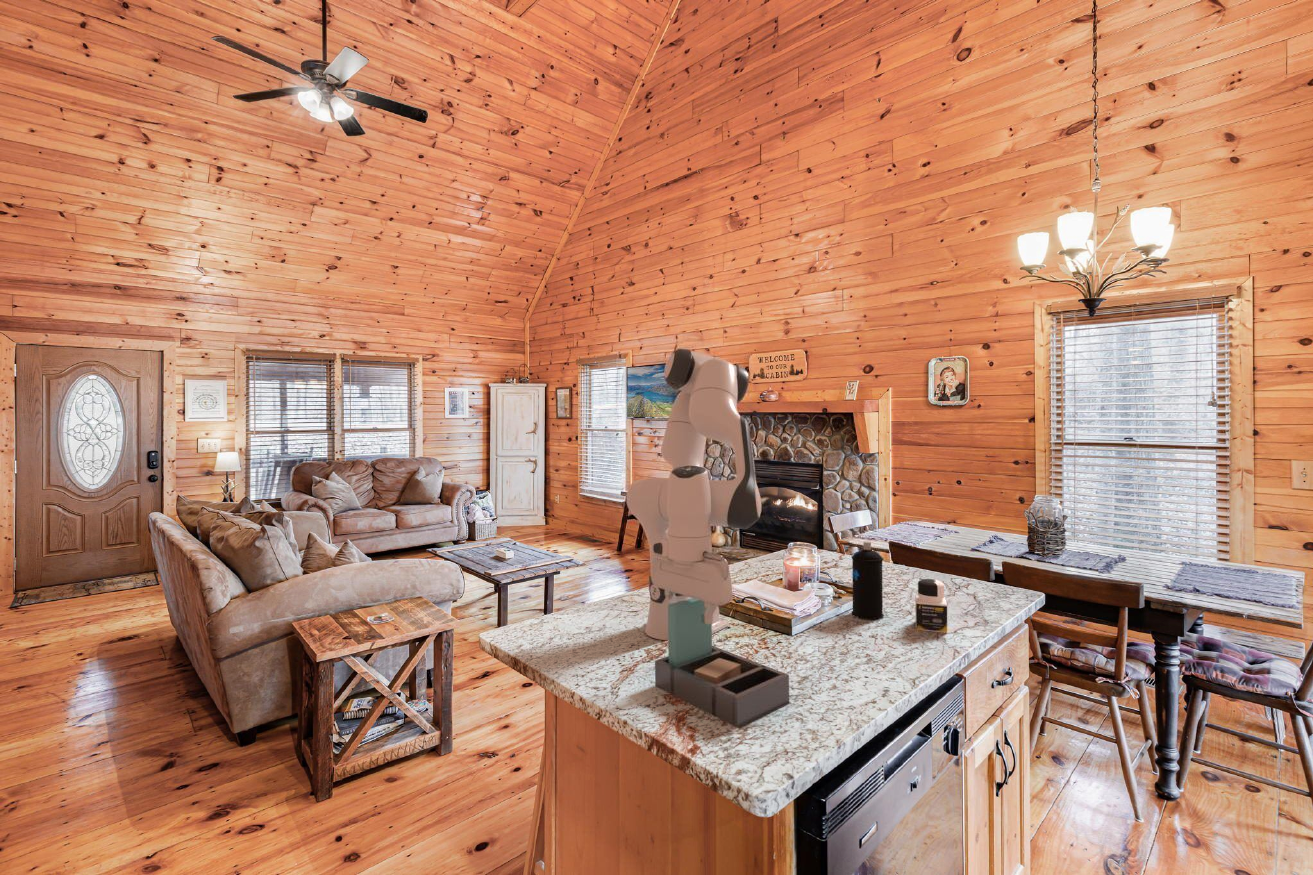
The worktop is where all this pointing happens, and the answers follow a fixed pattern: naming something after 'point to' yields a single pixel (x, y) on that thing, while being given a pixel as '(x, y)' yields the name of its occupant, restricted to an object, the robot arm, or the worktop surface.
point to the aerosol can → (867, 584)
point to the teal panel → (687, 631)
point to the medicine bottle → (931, 606)
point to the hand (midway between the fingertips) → (690, 617)
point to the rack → (726, 688)
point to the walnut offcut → (718, 671)
